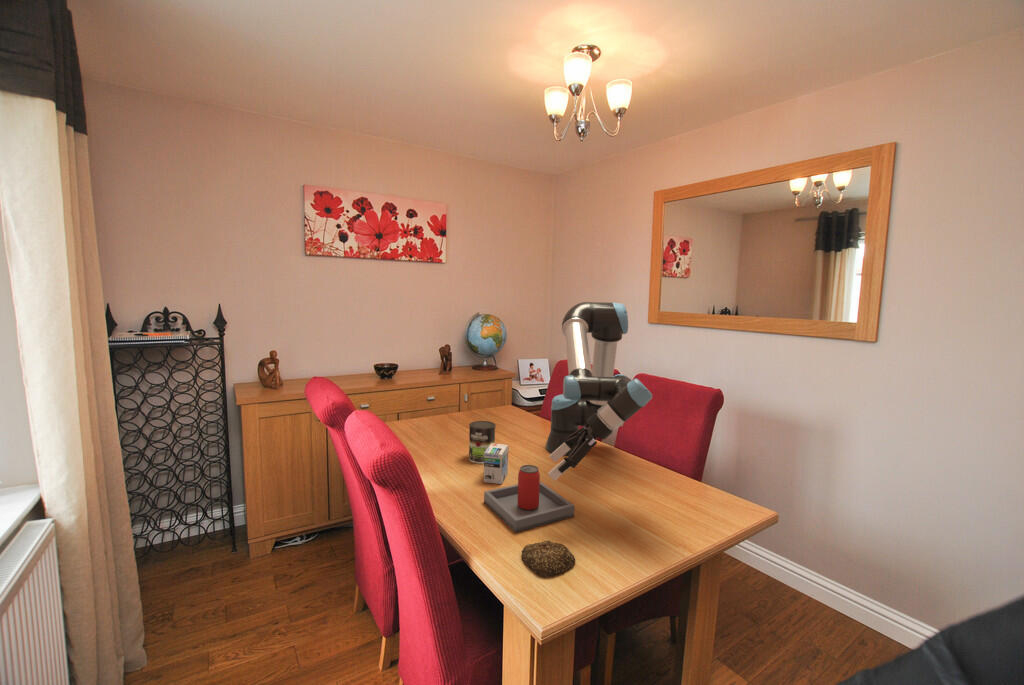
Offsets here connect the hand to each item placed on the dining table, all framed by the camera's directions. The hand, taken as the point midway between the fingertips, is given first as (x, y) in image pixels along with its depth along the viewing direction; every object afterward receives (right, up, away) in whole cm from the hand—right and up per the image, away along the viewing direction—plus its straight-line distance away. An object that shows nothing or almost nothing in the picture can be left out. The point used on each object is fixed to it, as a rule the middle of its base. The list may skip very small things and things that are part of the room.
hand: (551, 467), depth 134 cm
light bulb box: (-18, -11, +25) cm, 33 cm away
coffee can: (-24, -9, +42) cm, 49 cm away
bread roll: (-3, -17, -23) cm, 29 cm away
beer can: (-7, -13, +3) cm, 15 cm away
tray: (-7, -13, +3) cm, 15 cm away
